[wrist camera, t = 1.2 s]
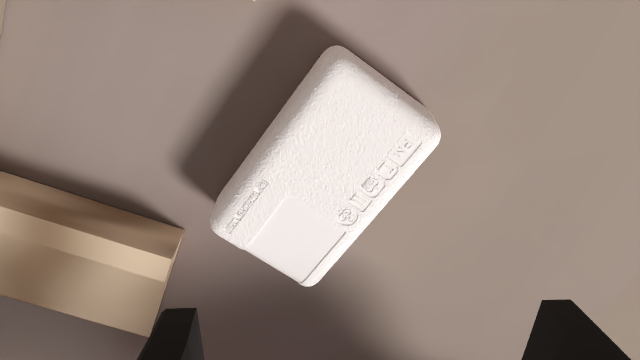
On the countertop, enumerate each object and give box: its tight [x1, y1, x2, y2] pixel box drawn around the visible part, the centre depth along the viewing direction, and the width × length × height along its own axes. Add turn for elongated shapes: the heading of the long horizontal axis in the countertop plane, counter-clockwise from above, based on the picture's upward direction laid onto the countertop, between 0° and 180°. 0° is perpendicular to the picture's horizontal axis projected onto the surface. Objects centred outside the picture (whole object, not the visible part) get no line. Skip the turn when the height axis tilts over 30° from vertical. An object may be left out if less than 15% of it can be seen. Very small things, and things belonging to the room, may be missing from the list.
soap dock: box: [0, 0, 256, 337], centre depth 22 cm, size 10×23×2 cm, turn 159°
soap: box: [210, 45, 441, 287], centre depth 24 cm, size 9×6×3 cm, turn 144°
